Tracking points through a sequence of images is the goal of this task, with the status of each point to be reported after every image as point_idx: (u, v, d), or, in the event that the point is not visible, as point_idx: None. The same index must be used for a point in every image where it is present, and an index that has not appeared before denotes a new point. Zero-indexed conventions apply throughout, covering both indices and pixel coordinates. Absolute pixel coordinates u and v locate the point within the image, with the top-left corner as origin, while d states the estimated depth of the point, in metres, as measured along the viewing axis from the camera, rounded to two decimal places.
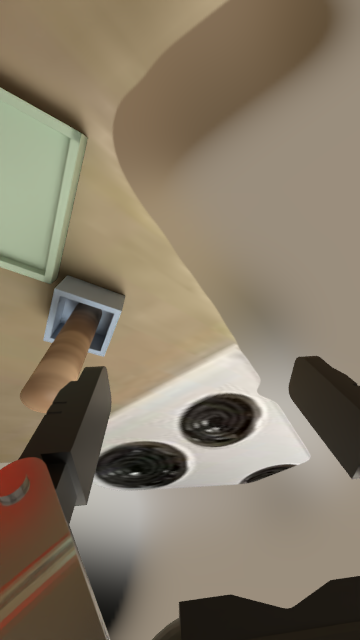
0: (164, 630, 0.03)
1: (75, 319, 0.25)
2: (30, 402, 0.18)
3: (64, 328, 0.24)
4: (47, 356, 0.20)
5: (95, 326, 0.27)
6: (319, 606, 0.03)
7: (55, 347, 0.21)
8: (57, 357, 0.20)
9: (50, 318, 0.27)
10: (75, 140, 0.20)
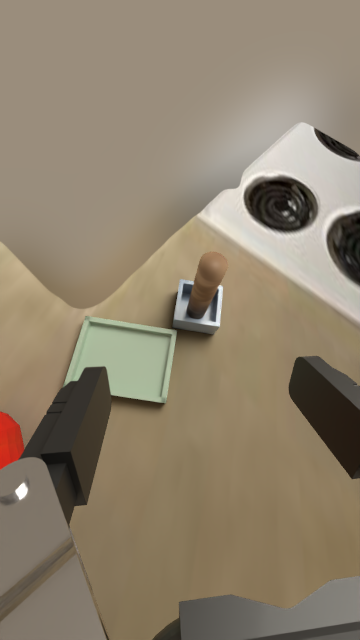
0: (164, 630, 0.03)
1: (190, 300, 0.36)
2: (219, 271, 0.27)
3: (194, 300, 0.34)
4: (198, 284, 0.30)
5: None
6: (319, 607, 0.03)
7: (195, 286, 0.31)
8: (196, 277, 0.30)
9: (198, 321, 0.37)
10: (89, 318, 0.38)
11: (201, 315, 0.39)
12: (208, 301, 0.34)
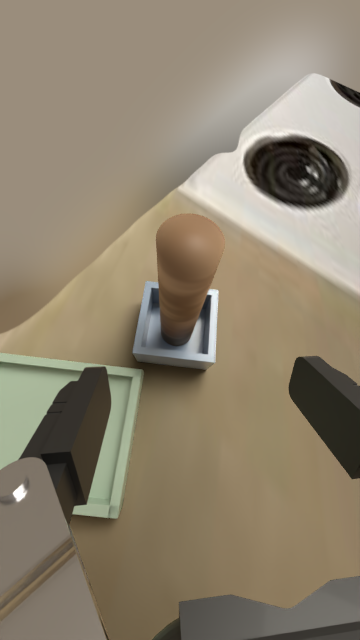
0: (164, 630, 0.03)
1: (160, 318, 0.20)
2: (204, 256, 0.11)
3: (164, 318, 0.18)
4: (163, 289, 0.14)
5: None
6: (319, 606, 0.03)
7: (161, 294, 0.15)
8: (158, 275, 0.14)
9: (177, 355, 0.21)
10: None
11: (184, 340, 0.23)
12: (191, 320, 0.18)
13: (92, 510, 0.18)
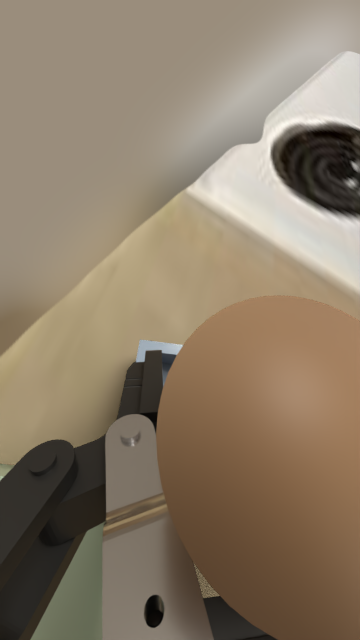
0: None
1: None
2: None
3: None
4: None
5: None
6: None
7: None
8: None
9: None
10: None
11: None
12: None
13: None
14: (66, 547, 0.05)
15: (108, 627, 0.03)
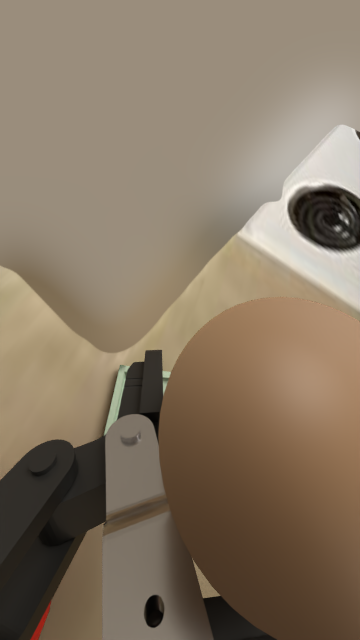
0: None
1: None
2: None
3: None
4: None
5: None
6: None
7: None
8: None
9: None
10: (124, 368, 0.31)
11: None
12: None
13: None
14: (66, 547, 0.05)
15: (108, 627, 0.03)
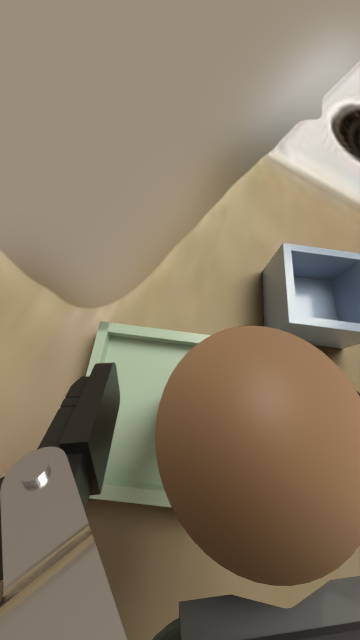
0: (164, 630, 0.03)
1: None
2: (322, 511, 0.03)
3: None
4: None
5: None
6: (319, 607, 0.03)
7: None
8: None
9: (341, 326, 0.17)
10: (108, 326, 0.18)
11: None
12: None
13: None
14: None
15: None
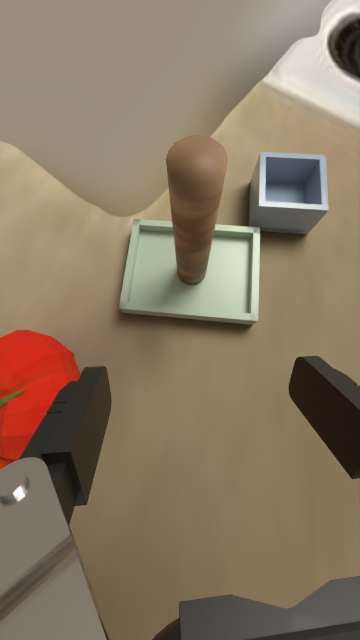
0: (164, 630, 0.03)
1: None
2: (208, 173, 0.13)
3: (179, 252, 0.21)
4: (175, 215, 0.16)
5: None
6: (319, 606, 0.03)
7: (174, 224, 0.17)
8: (170, 202, 0.16)
9: (295, 206, 0.25)
10: (139, 221, 0.28)
11: (198, 278, 0.25)
12: (202, 251, 0.20)
13: (239, 316, 0.25)
14: None
15: None
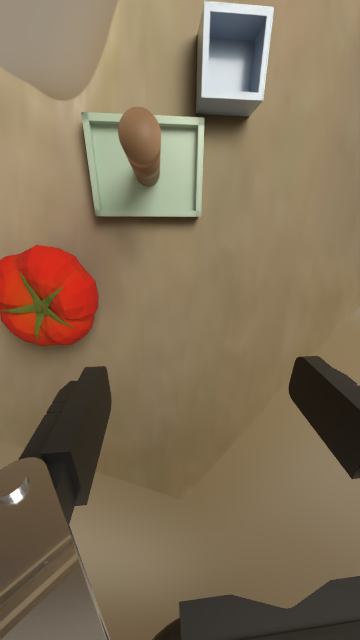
0: (164, 630, 0.03)
1: None
2: (149, 148, 0.19)
3: (135, 173, 0.26)
4: (130, 162, 0.22)
5: None
6: (319, 606, 0.03)
7: (129, 162, 0.23)
8: None
9: (234, 96, 0.27)
10: (87, 116, 0.28)
11: (154, 182, 0.31)
12: (154, 174, 0.26)
13: (187, 213, 0.34)
14: None
15: None
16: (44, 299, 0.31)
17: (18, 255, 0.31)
